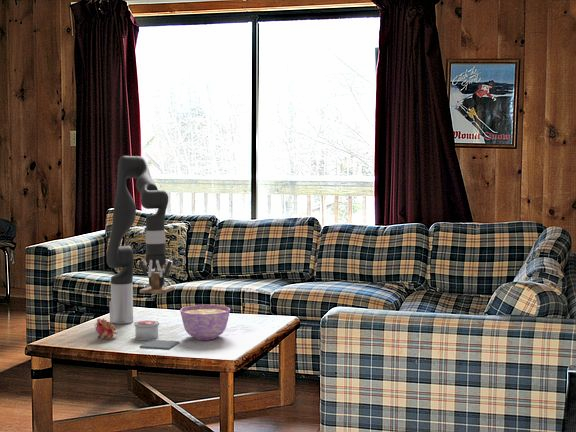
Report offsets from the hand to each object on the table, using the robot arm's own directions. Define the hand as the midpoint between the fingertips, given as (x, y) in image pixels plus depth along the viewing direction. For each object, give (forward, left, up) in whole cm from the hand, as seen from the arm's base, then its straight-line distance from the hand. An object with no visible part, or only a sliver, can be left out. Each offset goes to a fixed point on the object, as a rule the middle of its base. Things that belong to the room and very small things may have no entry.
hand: (156, 286), depth 323 cm
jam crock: (-8, +9, -23) cm, 26 cm away
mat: (+2, -2, -23) cm, 23 cm away
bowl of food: (+15, +14, -23) cm, 31 cm away
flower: (-23, +4, -23) cm, 33 cm away
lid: (0, 0, -2) cm, 2 cm away
